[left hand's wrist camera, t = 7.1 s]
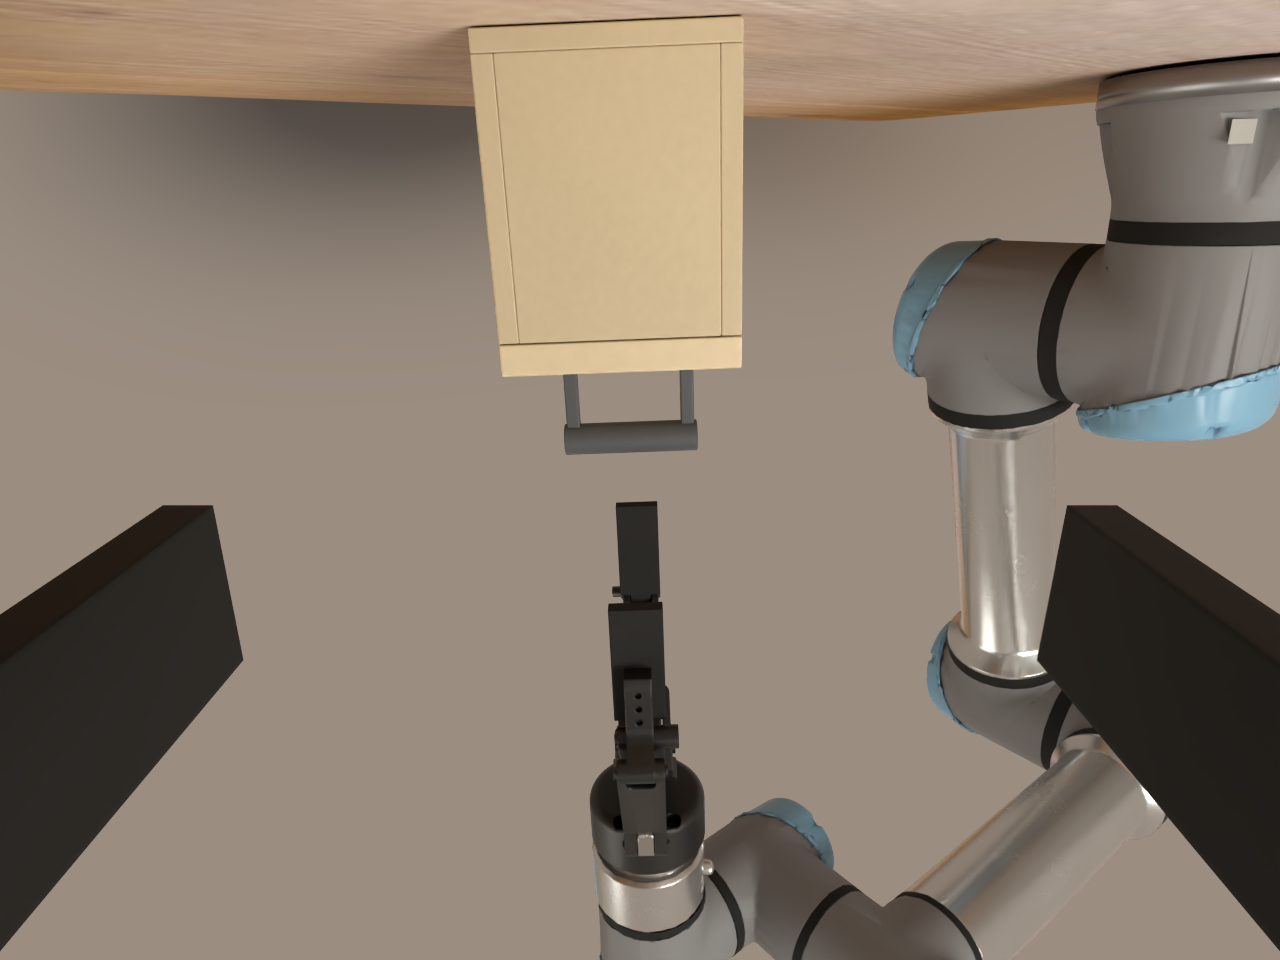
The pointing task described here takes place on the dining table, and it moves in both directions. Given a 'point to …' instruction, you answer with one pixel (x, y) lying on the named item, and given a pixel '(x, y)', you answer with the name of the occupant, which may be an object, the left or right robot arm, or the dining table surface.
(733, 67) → the chest
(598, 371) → the lid
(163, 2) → the dining table surface
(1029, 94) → the dining table surface
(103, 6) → the dining table surface
